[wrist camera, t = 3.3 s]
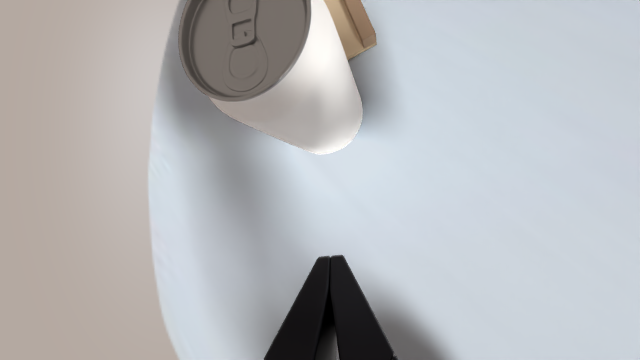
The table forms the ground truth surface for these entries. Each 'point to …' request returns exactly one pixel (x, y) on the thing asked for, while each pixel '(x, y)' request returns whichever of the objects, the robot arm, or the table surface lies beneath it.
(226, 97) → the can
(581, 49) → the table surface
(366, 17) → the wooden tray
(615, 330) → the table surface
